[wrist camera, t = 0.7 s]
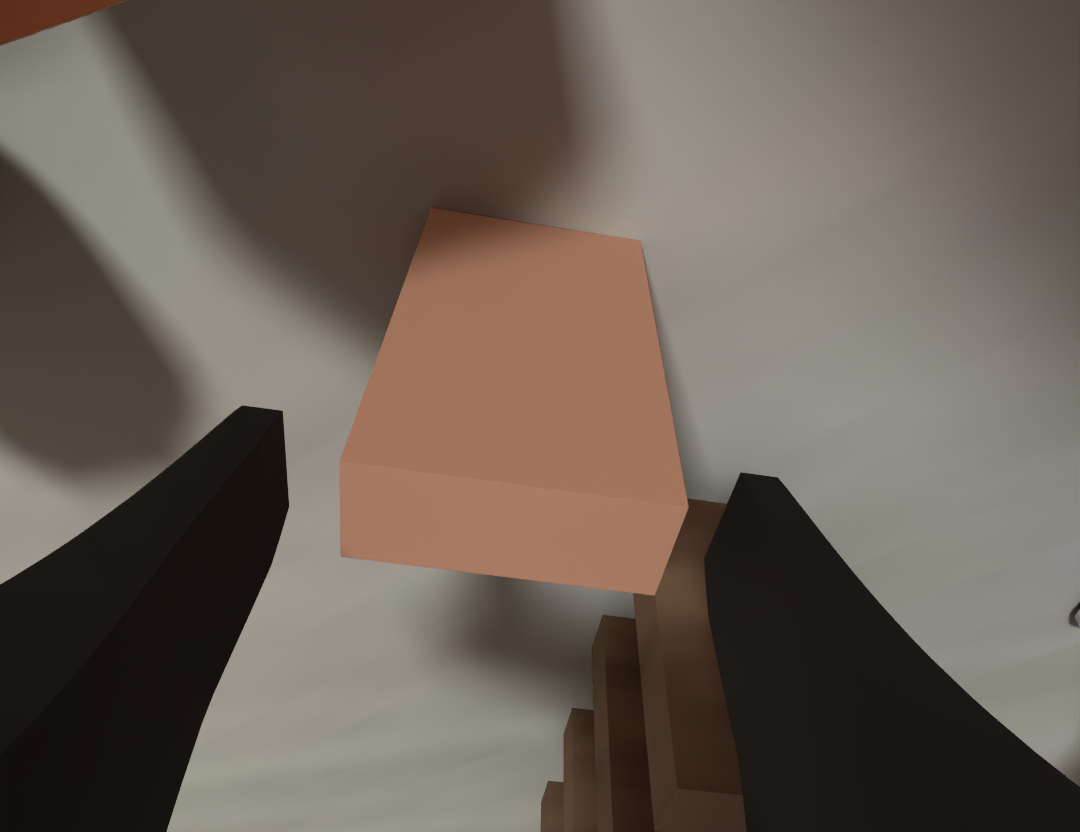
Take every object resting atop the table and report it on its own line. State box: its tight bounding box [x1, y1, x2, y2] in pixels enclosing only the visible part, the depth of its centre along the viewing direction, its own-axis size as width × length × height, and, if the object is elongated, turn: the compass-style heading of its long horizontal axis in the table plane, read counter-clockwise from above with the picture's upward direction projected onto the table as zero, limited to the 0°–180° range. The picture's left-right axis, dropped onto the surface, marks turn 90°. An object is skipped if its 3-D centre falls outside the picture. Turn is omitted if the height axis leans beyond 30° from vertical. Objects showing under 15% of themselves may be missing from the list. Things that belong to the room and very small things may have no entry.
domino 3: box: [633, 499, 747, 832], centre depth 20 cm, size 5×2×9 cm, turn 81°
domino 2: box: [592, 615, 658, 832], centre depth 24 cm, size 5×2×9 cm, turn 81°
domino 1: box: [340, 208, 689, 596], centre depth 15 cm, size 5×2×9 cm, turn 81°
